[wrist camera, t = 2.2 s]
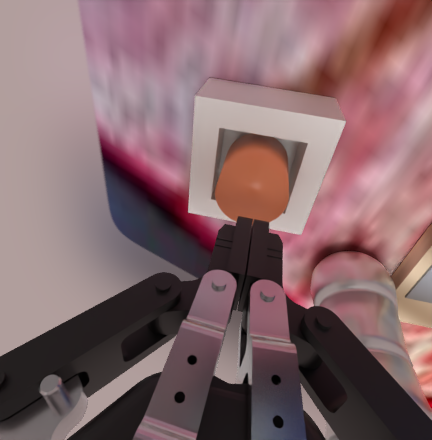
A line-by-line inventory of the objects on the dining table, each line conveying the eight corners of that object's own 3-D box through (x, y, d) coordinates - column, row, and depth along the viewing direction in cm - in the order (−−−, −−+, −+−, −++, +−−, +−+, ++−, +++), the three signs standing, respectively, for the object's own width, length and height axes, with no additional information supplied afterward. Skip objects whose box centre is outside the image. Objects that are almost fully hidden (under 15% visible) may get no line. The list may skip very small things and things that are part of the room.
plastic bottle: (334, 299, 30) (389, 638, 14) (293, 260, 27) (305, 614, 12) (400, 275, 26) (567, 690, 11) (360, 227, 24) (498, 671, 8)
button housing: (209, 77, 19) (194, 95, 16) (335, 98, 18) (346, 121, 15) (200, 183, 24) (188, 212, 21) (298, 201, 23) (301, 234, 20)
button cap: (230, 127, 18) (219, 157, 15) (295, 139, 18) (298, 171, 15) (222, 183, 21) (211, 217, 17) (279, 193, 20) (278, 231, 17)
